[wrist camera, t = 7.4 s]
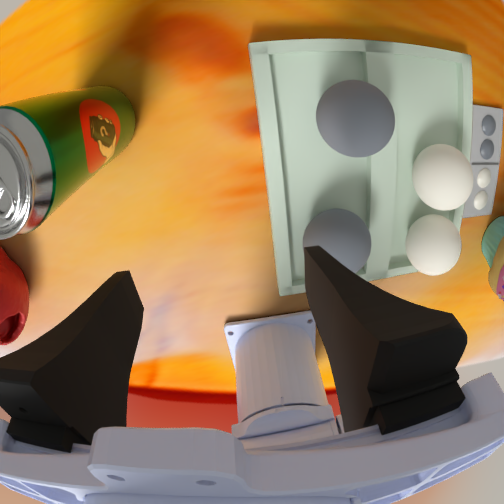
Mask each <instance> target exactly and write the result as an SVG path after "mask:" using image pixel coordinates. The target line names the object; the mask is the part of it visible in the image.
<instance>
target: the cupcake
mask: <svg viewBox="0 0 504 504" xmlns="http://www.w3.org/2000/svg"><path fill="white" fill-rule="evenodd" d="M482 252H483V254H484V256H485V258H486V260H487V262H488V264H489V267H490V271H489V277H488V279H489V284H490V286H491V288H492V290H493V291H494V292H495V293H496V294H497V295H498V296H499V299H502V300H503V301H504V216H501V217H498V218H496V219H495V220H494V221H493V222H492V223H491V224H490V225H489V226H488V228H487V230H486V231H485V234H484V236H483V239H482Z"/></svg>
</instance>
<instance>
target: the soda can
mask: <svg viewBox="0 0 504 504" xmlns="http://www.w3.org/2000/svg"><path fill="white" fill-rule="evenodd" d="M134 130H135V113H134V110H133V107H132V105H131V103H130V101H129V99H128V98H127V97H126V96H125V95H124V94H123V93H122V92H120V91H119V90H117V89H115V88H113V87H109V86H95V87H88V88H81V89H75V90H69V91H63V92H57V93H52V94H47V95H42V96H38V97H33V98H29V99H25V100H21V101H17V102H13V103H9V104H5V105H2V106H0V239H7V238H11V237H13V236H15V235H21V234H25V233H29V232H31V231H33V230H35V229H36V228H37V227H38V226H40V225H41V224H42V223H43V222H44V221H45V220H46V219H47V218H48V217H49V216H50V215H51V214H52V213H53V212H54V211H55V210H56V209H57V208H58V207H59V206H60V205H61V204H62V203H63V202H64V201H66V200H67V199H68V198H69V197H70V196H71V195H72V194H73V193H74V192H75V191H76V190H78V189H79V188H80V187H81V186H82V185H83V184H84V183H85V182H87V181H88V180H89V179H90V178H91V177H92V176H94V175H95V174H96V173H97V172H98V171H99V170H101V169H102V168H103V167H104V166H105V165H107V164H108V163H109V162H110V161H112V160H113V159H114V158H115V157H117V156H118V155H119V154H120V153H121V152H123V151H124V150H125V148H126V147H127V146H128V144H129V143H130V141H131V139H132V137H133V134H134Z"/></svg>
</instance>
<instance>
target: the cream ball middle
mask: <svg viewBox="0 0 504 504" xmlns="http://www.w3.org/2000/svg"><path fill="white" fill-rule="evenodd" d="M412 182H413V186H414V188H415V191H416V193H417V194H418V196H419V197H420V199H421V200H422V201H423V202H424V203H425V204H427V205H428V206H430V207H432V208H434V209H437V210H442V211H447V210H453V209H456V208H458V207H459V206H461V205H462V204H463V203H465V201H466V200H467V199H468V197H469V196H470V194H471V191H472V188H473V171H472V168H471V165H470V163H469V161H468V159H467V158H466V157H465V155H464V154H463V153H462V152H461V151H459V150H458V149H456V148H455V147H453V146H450V145H447V144H434V145H431V146H429V147H427V148H425V149H424V150H422V151H421V152H420V153H419V155H418V156H417V158H416V159H415V161H414V164H413V168H412Z"/></svg>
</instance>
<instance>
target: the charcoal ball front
mask: <svg viewBox="0 0 504 504" xmlns="http://www.w3.org/2000/svg"><path fill="white" fill-rule="evenodd" d="M316 123H317V127H318V130H319V132H320V134H321V136H322V138H323V139H324V141H325V142H326V143H327V144H328V145H329V146H330V147H331V148H332V149H334V150H335V151H337V152H338V153H341V154H343V155H345V156H349V157H356V158H357V157H367V156H371V155H373V154H376V153H377V152H379V151H380V150H382V149H383V148H384V147H385V146H386V145H387V144H388V142H389V141H390V139H391V137H392V135H393V132H394V128H395V114H394V110H393V107H392V105H391V103H390V101H389V100H388V98H387V97H386V95H385V94H384V93H383V92H382V91H381V90H380V89H378V88H377V87H375V86H374V85H372V84H370V83H367V82H365V81H361V80H345V81H341V82H338V83H336V84H334V85H333V86H331V87H330V88H328V89H327V90H326V91H325V92H324V94H323V95H322V97H321V98H320V100H319V102H318V105H317V109H316Z"/></svg>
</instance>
